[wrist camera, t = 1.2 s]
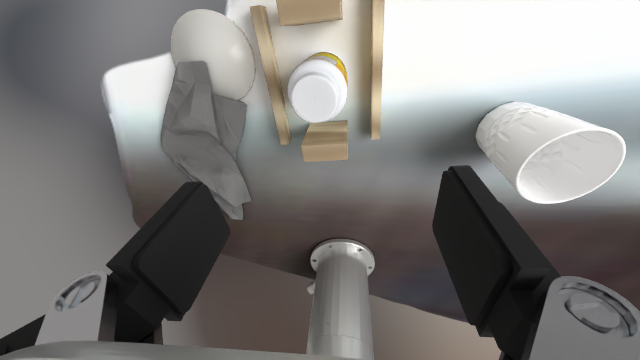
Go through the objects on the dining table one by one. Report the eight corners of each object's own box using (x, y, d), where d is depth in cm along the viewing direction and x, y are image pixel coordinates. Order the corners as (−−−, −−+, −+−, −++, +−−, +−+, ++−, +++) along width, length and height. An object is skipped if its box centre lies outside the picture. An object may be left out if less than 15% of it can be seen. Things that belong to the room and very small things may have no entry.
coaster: (237, 117, 32) (236, 118, 31) (165, 72, 29) (162, 73, 29) (269, 47, 26) (267, 48, 26) (184, -14, 24) (181, -15, 24)
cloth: (137, 46, 27) (122, 48, 26) (250, 70, 27) (242, 74, 25) (180, 204, 43) (172, 213, 41) (252, 220, 43) (247, 230, 41)
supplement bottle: (339, 106, 29) (336, 139, 21) (297, 94, 29) (276, 123, 21) (354, 58, 26) (356, 75, 18) (306, 44, 26) (286, 54, 17)
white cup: (456, 136, 30) (496, 179, 22) (514, 81, 26) (591, 109, 18) (497, 166, 32) (549, 215, 23) (557, 119, 28) (647, 160, 19)
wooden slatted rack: (378, 132, 31) (384, 157, 25) (284, 138, 33) (270, 163, 27) (382, -12, 22) (393, -24, 17) (256, 7, 24) (228, 3, 19)
